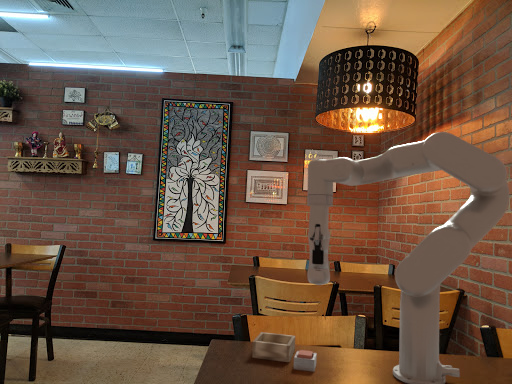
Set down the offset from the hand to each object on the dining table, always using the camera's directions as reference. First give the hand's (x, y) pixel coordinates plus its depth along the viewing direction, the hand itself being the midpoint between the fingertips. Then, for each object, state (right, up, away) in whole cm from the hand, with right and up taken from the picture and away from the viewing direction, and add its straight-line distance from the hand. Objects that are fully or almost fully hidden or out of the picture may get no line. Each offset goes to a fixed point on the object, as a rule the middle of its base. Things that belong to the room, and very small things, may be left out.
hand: (318, 262), depth 118 cm
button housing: (-5, -27, -10) cm, 29 cm away
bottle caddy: (-13, -27, -1) cm, 30 cm away
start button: (-5, -26, -9) cm, 28 cm away
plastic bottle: (0, -7, 0) cm, 7 cm away
